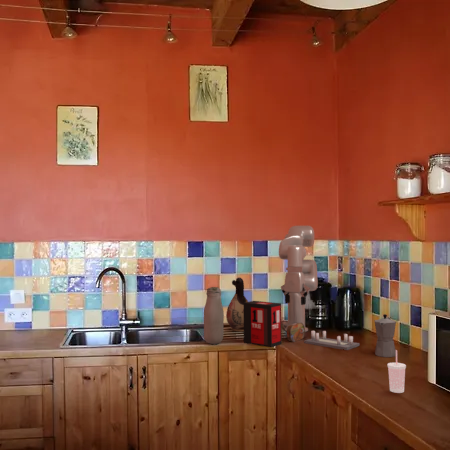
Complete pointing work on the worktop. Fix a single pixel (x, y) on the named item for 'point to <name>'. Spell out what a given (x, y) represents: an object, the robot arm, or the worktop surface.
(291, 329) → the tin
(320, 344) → the pin board
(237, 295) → the ceramic jug
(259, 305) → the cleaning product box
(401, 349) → the worktop surface
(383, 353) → the coffeepot
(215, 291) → the grey brown bottle
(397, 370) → the beverage cup
